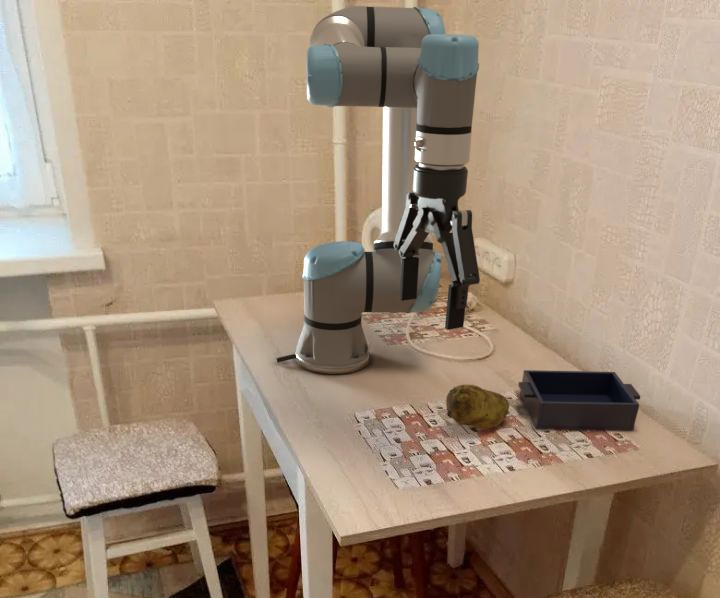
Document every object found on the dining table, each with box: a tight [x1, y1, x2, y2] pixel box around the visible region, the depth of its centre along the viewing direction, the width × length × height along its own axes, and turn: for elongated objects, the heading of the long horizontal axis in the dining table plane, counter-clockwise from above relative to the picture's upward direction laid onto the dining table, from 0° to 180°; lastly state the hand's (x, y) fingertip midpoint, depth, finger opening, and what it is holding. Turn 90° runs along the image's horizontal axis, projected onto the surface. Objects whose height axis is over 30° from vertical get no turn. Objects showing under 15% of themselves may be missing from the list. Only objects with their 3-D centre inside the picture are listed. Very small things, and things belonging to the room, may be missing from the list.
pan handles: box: [517, 381, 641, 401], centre depth 134 cm, size 21×5×1 cm, turn 91°
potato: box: [445, 383, 510, 430], centre depth 128 cm, size 8×13×8 cm, turn 105°
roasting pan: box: [519, 369, 640, 431], centre depth 135 cm, size 17×14×5 cm
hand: (430, 313), depth 113 cm, fingers open, 13 cm apart
